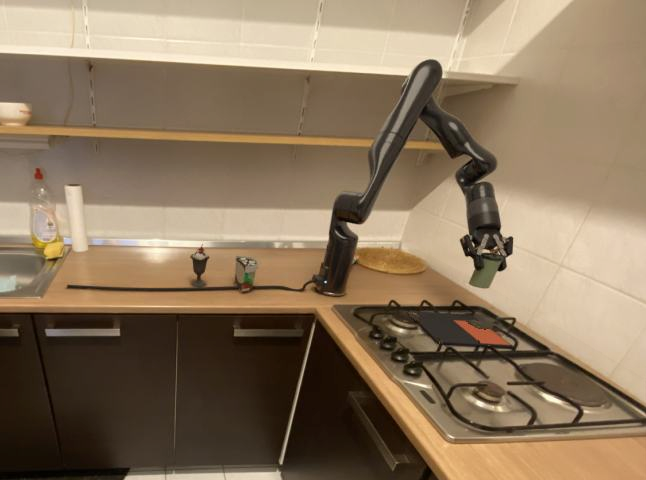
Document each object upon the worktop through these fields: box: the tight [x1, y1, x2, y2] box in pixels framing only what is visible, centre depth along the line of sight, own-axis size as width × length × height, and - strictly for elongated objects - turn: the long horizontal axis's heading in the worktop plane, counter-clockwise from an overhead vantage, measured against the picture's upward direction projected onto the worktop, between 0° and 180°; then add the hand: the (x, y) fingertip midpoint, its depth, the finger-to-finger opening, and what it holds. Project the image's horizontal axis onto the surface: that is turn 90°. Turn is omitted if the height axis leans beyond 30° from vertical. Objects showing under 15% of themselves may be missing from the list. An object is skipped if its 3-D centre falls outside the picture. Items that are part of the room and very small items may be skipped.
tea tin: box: [468, 252, 504, 290], centre depth 110 cm, size 5×5×9 cm
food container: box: [233, 255, 259, 294], centre depth 133 cm, size 12×6×10 cm, turn 9°
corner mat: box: [411, 310, 515, 350], centre depth 113 cm, size 20×20×1 cm
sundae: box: [189, 243, 211, 287], centre depth 133 cm, size 7×7×15 cm
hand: (490, 269), depth 108 cm, fingers closed on tea tin, 5 cm apart
